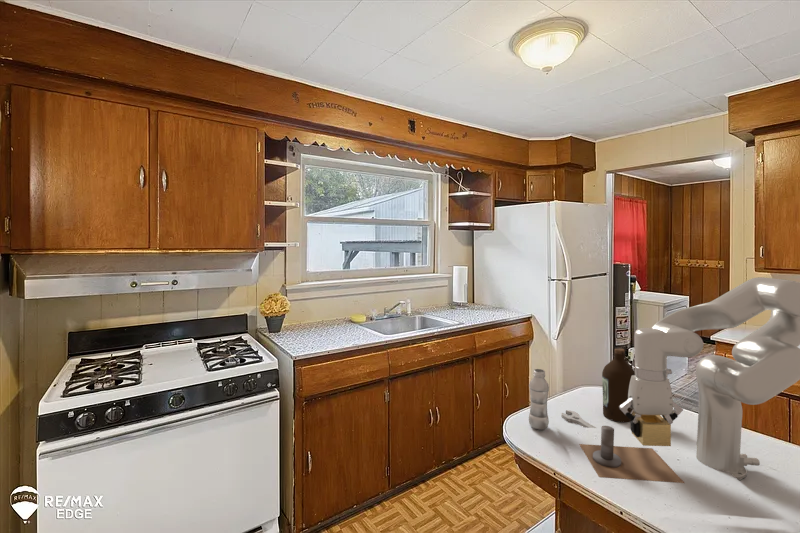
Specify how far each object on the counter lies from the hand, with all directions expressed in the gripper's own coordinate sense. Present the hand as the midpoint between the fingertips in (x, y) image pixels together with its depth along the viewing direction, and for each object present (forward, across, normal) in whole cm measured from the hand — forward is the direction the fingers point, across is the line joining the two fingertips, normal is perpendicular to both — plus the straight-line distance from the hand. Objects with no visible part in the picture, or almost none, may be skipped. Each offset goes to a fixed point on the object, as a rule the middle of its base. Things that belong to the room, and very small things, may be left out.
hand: (650, 434), depth 111 cm
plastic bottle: (+9, +26, -21) cm, 35 cm away
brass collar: (+1, 0, 0) cm, 1 cm away
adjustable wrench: (+10, +10, -22) cm, 26 cm away
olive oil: (+10, -4, -33) cm, 35 cm away
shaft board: (+10, +6, 0) cm, 11 cm away
